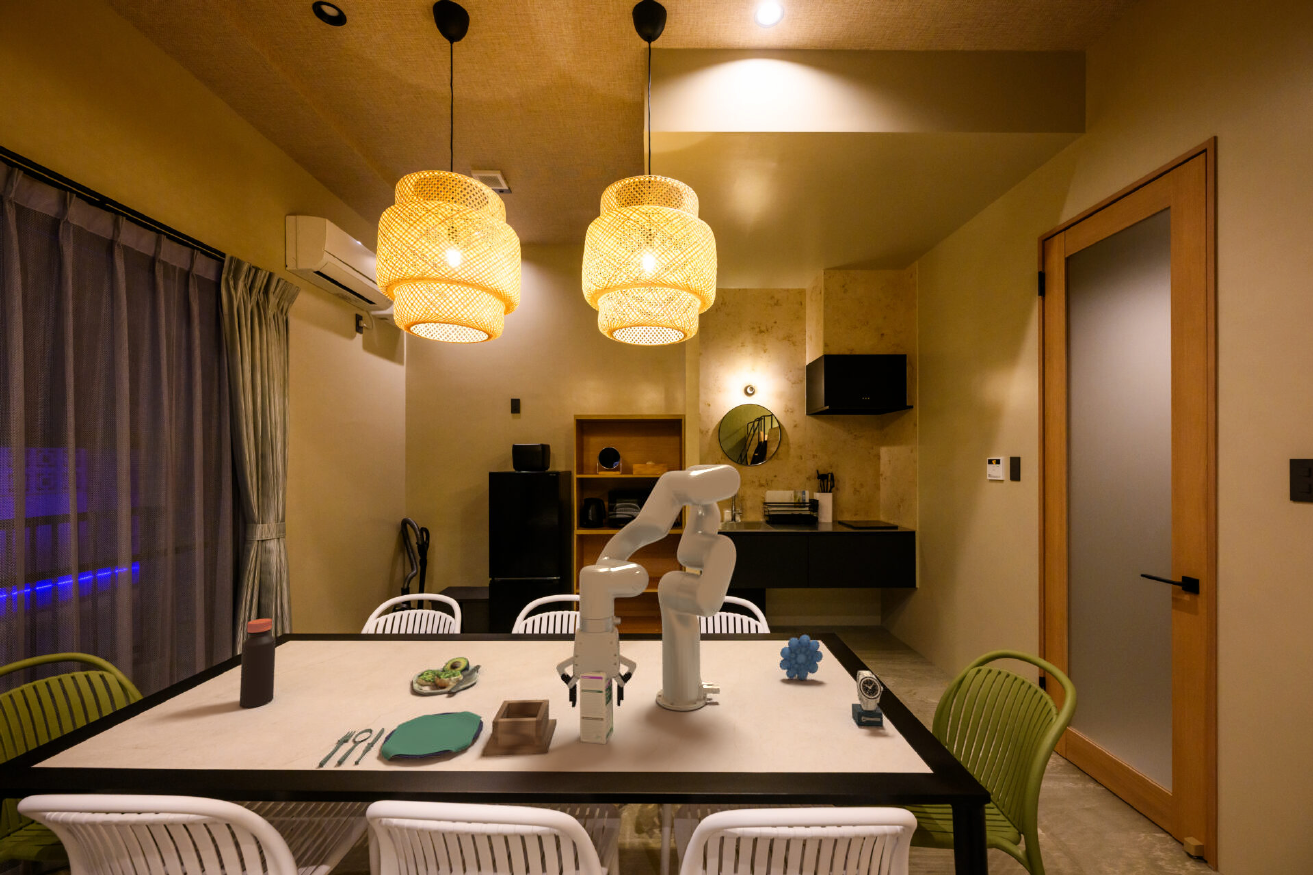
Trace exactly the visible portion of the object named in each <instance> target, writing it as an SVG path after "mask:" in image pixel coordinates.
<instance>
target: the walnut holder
mask: <svg viewBox="0 0 1313 875" xmlns="http://www.w3.org/2000/svg"><path fill="white" fill-rule="evenodd" d="M491 723H492V724H491V727H492V728H491V735H490V736H489V738H488V740H487V741H486V744H485V745H484V747H483V749H482V752H481V753H482V755H481V756H482V757H491V756H492V757H495V755H496V756H497V755H499V756H526V755H527V756H528V755H530V756H531V755H548V754H549V751H550V747H551V744H552V740H553V737H554V734H555V730H556V727H557V718H552V719H551V718H550V699H548V698H547V699H523V700H522V699H518V700H516V699H514V700H509V699H508V700H503V701H502V703H501V705H500V707H499V708H498V710H497V712H496V714H495V716H494V718H493V720H492V721H491ZM493 755H494V756H493ZM497 757H498V756H497Z"/></svg>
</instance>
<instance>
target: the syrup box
mask: <svg viewBox="0 0 1313 875" xmlns="http://www.w3.org/2000/svg"><path fill="white" fill-rule="evenodd" d="M613 690H614V689H613V678H611V679H607V677H606V672H586V673H585V674H581V675H580V679H579V720H580V722H579V726H580V727H579V728H580V729H579V730H580V732H579V734H580V735H579V737H580V738H579V739H580V742H583V743H587V744H589V743H590V744H600V745H601V744H602V745H606V744H607V742H608V741H609V739H610V737H611V736H612V733H613V732H614V704H613V703H614V698H613V696H614V695H613Z"/></svg>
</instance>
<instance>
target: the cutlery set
mask: <svg viewBox="0 0 1313 875" xmlns="http://www.w3.org/2000/svg"><path fill="white" fill-rule="evenodd" d="M482 718H483V717H482V716H481V715H478V714H477V713H475V712H471V711H467V710H466V711H459V712H458V711H456V712H455V711H454V712H453V711H452V712H441V713H433V714H424V715H421V716H418V717H417V716H416V717H414V718H412V719H410V720H407V721H405V722H403V723H400V724H398V725H397V726H396V728H394V729H393V730H391V731H390V732H389V733H388V734H387V735H386V736H385V737H384V740H383V742H382V747H381V749H380V751H381V752H380V753H381V756H382V758H384V760H386V761H389V759H390V758H391V757H396V758H401V759H407V760H408V759H413V760H414V759H415V760H416V759H426V758H431V757H438V756H442V755H444V754H448V753H451V752H454V753H459V752H460V751H463V750H464V749H467V748H469V747H470V745H471V744H472V742H473V741H474V740H475V739H477V738H478V737H479V735H480V734H481V733H482V731H483V729H484V721H482ZM356 732H357V730H354V731H353V730H352V731H351V732H350V731H348V732H347V733H346V734H345V735H343V736H342V737H341V738H339V739H337V744H336V746H334V747H333V749H332V750H331V751H329V753H328V754H327V755H326V756H324V757H323V758H322V760H321V761H319V762H318V767H319V768H323V767H324V766H326V764H327V762H328V761H330V759H331V758H332V757H333V756H334V755H335V754H336V753H337V752H338V750H339V749H340V748H341V746H343V745H344V744H346V743H349V741H350V739H352V737H353V736H354V737H353V741H354V742H355V744H353V745H352V746H351V747H350V748H349V749H348V750H346V752H345V753H344V754H342V756H341V757H340V758H339V759H338V760H337V762H336V764H337V765H342V764H343V763H344V762H345V761H346V759H347V757H348V756H349V755H350V754H351V753H352V751H353V750H355V748H356V747H357V746H358V745H359V744H360V743H362V742H364V741H366V740H368V739H369V738H370V737H372V733H373V732H374V731H373V729H372V728H365V729H363V730H360V731H359V732H358V733H357V734H356ZM384 732H385V728H384V727H382V728H381V729H380V730H379V732H378V733H377V734H376V735H375V736H374V737H373V739H372V740H371V741H370V742H367V745H366V746H365V747H364V750H363V752H361V754H360V756H359V757H358V758H357V760H356V761H354V766H358V765H359V764H360V763H359V762H360V761H361V760H362V758H363V757H364V755H365V754H366V753H367V752H368V751H369V750H371V749H372V748H373V747H374V744H375V743H377V742H378V741H379V739H380V738H381V737H382V736H383V734H384ZM365 733H369V734H370V735H368V736H367V737H365V738H363V739H361V740H356V739H357V738H358V737H359V736H360V735H363V734H365ZM354 734H355V735H354Z"/></svg>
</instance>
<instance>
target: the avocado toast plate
mask: <svg viewBox="0 0 1313 875" xmlns="http://www.w3.org/2000/svg"><path fill="white" fill-rule="evenodd" d="M481 667H482V665H480V664H477V665H475V666H474V665H470V662H469V660H468V658H466V657H464V656H460V657H459V656H458V657H454V658H451V659H450V660H448V661H447V662H445V665H444V666H443V667H441V668H439V667H438V668H431V669H430V668H429V669H426V670H422V671H420V672H418V673H416V674H414V676H413V677H412V688H413V691H414V692H416V693H418V694H420V695H424V696H439V695H445V694H451V693H452V694H453V693H456V692H459V691H462V690H465V689H466V688H468V687H470V686H472V685H474V684H476V683H477V681H478V679H479V675H478V673H477V672H478V671H479V670H480V668H481ZM422 686H427V687H429V686H431V687H432V686H433V687H435V686H436V687H437V688H438V689H437V690H427V689H423V688H422Z"/></svg>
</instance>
